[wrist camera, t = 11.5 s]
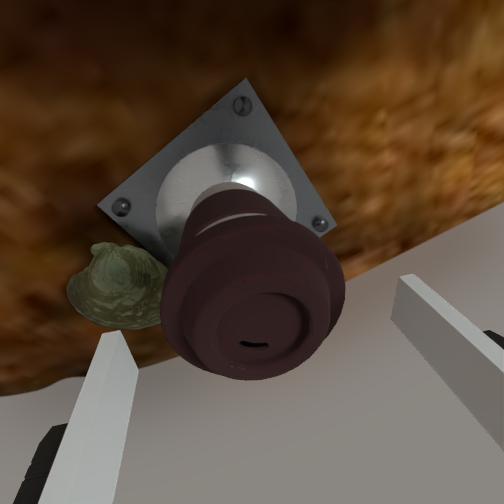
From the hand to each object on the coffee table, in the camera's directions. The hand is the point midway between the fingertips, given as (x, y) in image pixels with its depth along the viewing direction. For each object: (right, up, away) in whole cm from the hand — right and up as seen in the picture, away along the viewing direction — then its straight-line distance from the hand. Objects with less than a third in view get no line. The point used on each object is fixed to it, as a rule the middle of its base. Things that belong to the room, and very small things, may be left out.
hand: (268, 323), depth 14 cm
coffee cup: (-3, +7, +13) cm, 15 cm away
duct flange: (-3, +7, +14) cm, 16 cm away
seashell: (-14, +1, +16) cm, 21 cm away
